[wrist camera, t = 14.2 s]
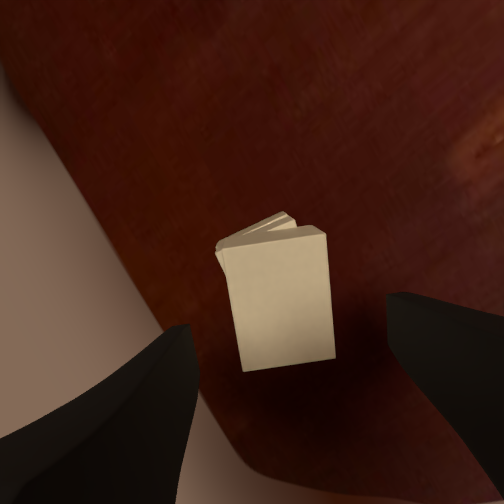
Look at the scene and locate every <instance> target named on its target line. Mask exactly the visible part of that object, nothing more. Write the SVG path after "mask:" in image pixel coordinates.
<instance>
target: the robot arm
mask: <svg viewBox="0 0 504 504" xmlns="http://www.w3.org/2000/svg"><path fill="white" fill-rule="evenodd" d="M386 303H387V340H388V346H389V347H390V349H391V351H392V352H393V354H394V356H395V357H396V359H397V360H398V362H399V363H400V365H401V366H402V368H403V369H404V370H405V371H406V373H407V374H408V375H409V376H410V378H411V379H412V380H413V381H414V382H415V384H416V385H417V386H418V387H419V388H420V389H421V391H422V392H423V393H424V394H425V395H426V396H427V398H428V399H429V400H430V401H431V402H432V404H433V405H434V406H435V407H436V408H437V409H438V411H439V412H440V413H441V414H442V415H443V416H444V418H445V419H446V420H447V421H448V422H449V423H450V425H451V426H452V427H453V428H454V430H455V431H456V432H457V433H458V435H459V436H460V437H461V439H462V440H463V441H464V443H465V444H466V445H467V447H468V448H469V450H470V451H471V452H472V454H473V455H474V457H475V458H476V460H477V461H478V462H479V464H480V465H481V467H482V468H483V469H484V471H485V472H486V474H487V475H488V477H489V478H490V480H491V481H492V482H493V484H494V485H495V487H496V488H497V490H498V491H499V493H500V494H501V496H502V497H503V499H504V317H503V316H499V315H495V314H490V313H486V312H482V311H478V310H474V309H470V308H467V307H463V306H459V305H455V304H452V303H448V302H444V301H441V300H437V299H433V298H430V297H426V296H422V295H418V294H413V293H408V292H399V293H392V294H386ZM199 378H200V370H199V365H198V361H197V356H196V352H195V347H194V343H193V338H192V333H191V329H190V324H184V325H177V326H172V327H171V328H169V329H168V330H166V331H165V332H164V333H163V334H161V335H160V336H159V337H158V338H157V339H155V340H154V341H153V342H152V343H151V344H149V345H148V346H147V347H146V348H145V349H143V350H142V351H141V352H140V353H138V354H137V355H136V356H135V357H134V358H132V359H131V360H130V361H128V362H127V363H126V364H124V365H123V366H122V367H121V368H119V369H118V370H117V371H115V372H114V373H113V374H111V375H110V376H108V377H107V378H106V379H104V380H103V381H101V382H100V383H98V384H97V385H95V386H94V387H92V388H91V389H89V390H88V391H86V392H85V393H83V394H81V395H80V396H78V397H77V398H75V399H74V400H72V401H70V402H69V403H66V404H65V405H63V406H61V407H60V408H58V409H56V410H54V411H52V412H50V413H49V414H47V415H45V416H43V417H42V418H40V419H38V420H36V421H34V422H32V423H30V424H29V425H27V426H25V427H23V428H21V429H19V430H17V431H15V432H13V433H11V434H9V435H7V436H5V437H2V438H0V504H175V502H176V495H177V488H178V481H179V476H180V471H181V466H182V462H183V458H184V453H185V449H186V444H187V441H188V436H189V432H190V428H191V424H192V419H193V416H194V411H195V407H196V402H197V397H198V389H199Z"/></svg>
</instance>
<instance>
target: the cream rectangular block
mask: <svg viewBox="0 0 504 504" xmlns="http://www.w3.org/2000/svg"><path fill="white" fill-rule="evenodd" d="M221 251H222V257H223V263H224V268H225V274H226V280H227V285H228V291H229V297H230V302H231V308H232V314H233V319H234V325H235V331H236V336H237V342H238V348H239V353H240V359H241V365H242V371H243V372H247V371H253V370H260V369H267V368H273V367H280V366H287V365H294V364H300V363H307V362H314V361H321V360H327V359H334V358H336V355H335V342H334V330H333V317H332V305H331V292H330V280H329V267H328V254H327V242H326V234H325V233H324V232H322V231H321V230H319V229H317V228H316V227H314V226H313V225H307V226H300V227H294V228H287V229H280V230H273V231H267V232H260V233H253V234H246V235H240V236H233V237H226V238H225V239H224V242H223V246H222V249H221Z"/></svg>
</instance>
